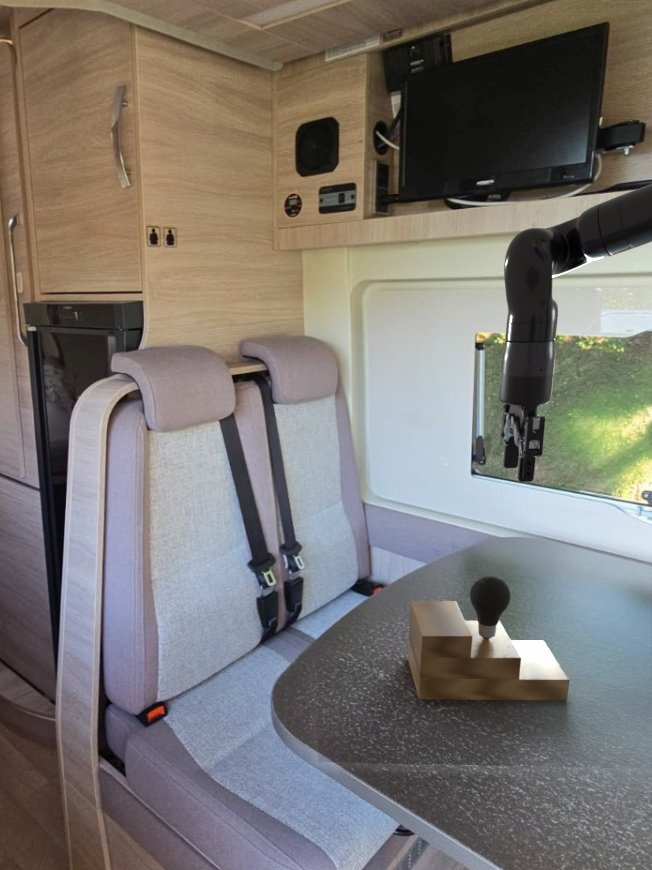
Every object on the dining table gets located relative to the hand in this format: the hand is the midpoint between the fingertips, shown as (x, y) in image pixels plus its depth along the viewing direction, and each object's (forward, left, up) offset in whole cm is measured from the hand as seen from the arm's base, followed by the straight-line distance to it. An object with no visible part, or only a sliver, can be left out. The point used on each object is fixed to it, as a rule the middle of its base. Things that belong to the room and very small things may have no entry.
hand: (517, 474), depth 115 cm
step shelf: (+7, +16, -28) cm, 33 cm away
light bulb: (+7, +16, -21) cm, 28 cm away
